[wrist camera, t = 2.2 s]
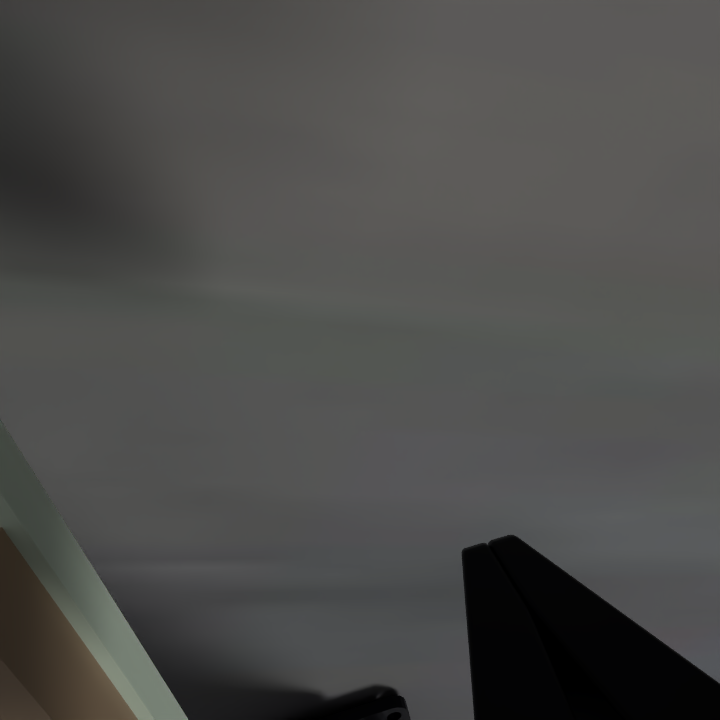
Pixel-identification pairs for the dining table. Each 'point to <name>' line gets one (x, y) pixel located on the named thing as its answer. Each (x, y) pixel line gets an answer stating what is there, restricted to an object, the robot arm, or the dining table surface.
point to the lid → (62, 619)
